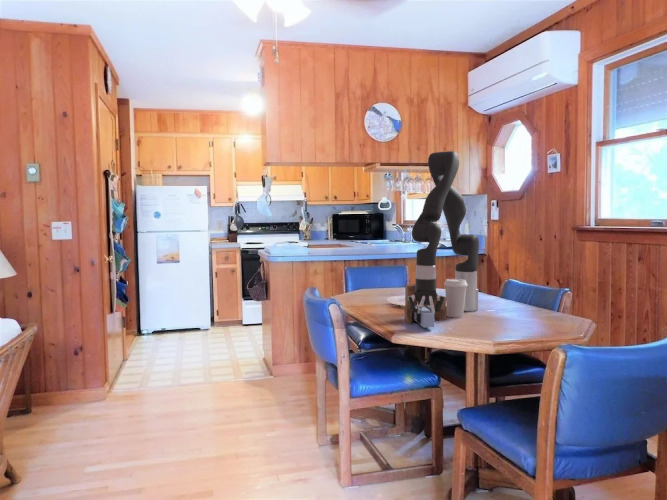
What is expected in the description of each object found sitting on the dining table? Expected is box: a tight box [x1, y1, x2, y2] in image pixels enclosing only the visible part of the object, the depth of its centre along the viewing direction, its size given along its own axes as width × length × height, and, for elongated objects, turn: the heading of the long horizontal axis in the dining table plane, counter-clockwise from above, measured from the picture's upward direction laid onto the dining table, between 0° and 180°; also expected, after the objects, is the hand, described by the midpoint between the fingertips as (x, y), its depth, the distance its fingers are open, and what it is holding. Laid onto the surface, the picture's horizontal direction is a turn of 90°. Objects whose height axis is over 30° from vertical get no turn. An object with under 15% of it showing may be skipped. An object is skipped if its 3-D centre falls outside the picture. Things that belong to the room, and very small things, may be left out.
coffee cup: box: [443, 278, 468, 319], centre depth 206 cm, size 10×10×15 cm
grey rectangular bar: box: [413, 305, 435, 328], centre depth 188 cm, size 16×4×5 cm, turn 5°
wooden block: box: [404, 283, 447, 324], centre depth 197 cm, size 17×8×14 cm, turn 95°
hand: (425, 322), depth 185 cm, fingers closed on grey rectangular bar, 4 cm apart
